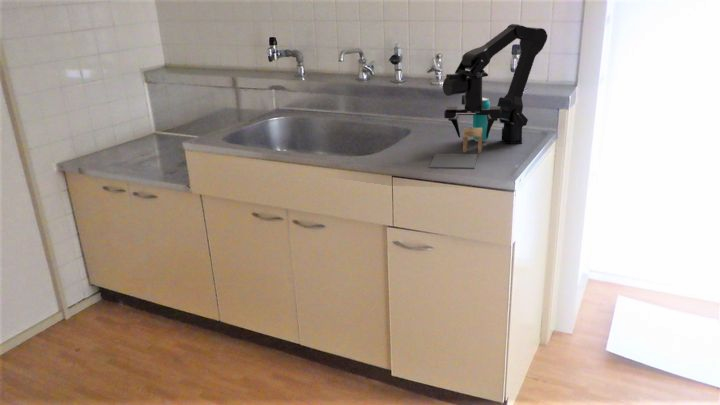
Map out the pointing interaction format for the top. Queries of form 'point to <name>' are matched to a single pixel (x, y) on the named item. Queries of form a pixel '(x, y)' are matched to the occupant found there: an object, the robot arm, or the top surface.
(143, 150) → the top surface
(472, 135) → the stool
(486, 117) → the beverage can
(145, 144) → the top surface
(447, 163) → the mat
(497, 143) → the top surface
